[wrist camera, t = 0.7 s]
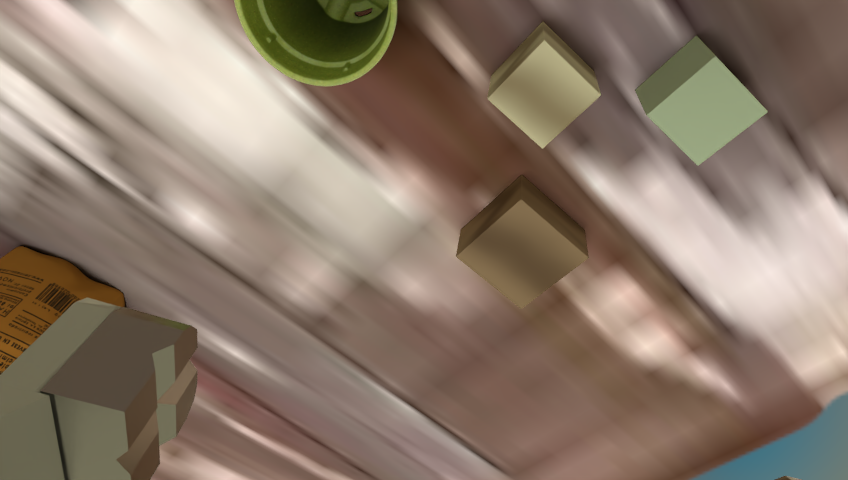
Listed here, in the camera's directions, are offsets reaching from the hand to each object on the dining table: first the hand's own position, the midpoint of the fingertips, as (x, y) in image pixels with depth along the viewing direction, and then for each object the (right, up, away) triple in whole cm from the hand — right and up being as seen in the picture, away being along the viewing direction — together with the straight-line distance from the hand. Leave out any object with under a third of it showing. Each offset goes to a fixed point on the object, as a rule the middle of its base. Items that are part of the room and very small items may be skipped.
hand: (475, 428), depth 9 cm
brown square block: (+7, +3, +41) cm, 42 cm away
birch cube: (+8, +14, +35) cm, 38 cm away
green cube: (+17, +13, +34) cm, 40 cm away
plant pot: (-6, +20, +33) cm, 39 cm away
